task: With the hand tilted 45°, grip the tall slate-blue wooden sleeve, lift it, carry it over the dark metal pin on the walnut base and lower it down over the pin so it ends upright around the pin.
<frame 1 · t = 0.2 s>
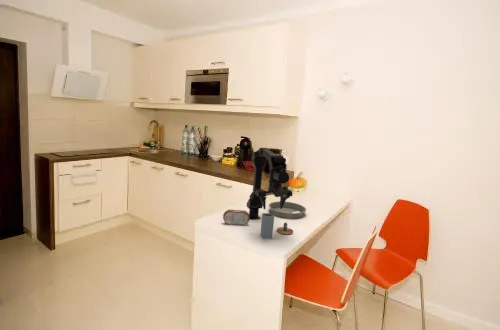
hand: (272, 209, 149), 15 cm above the countertop, tool pointing down, fingers open, 9 cm apart
cake pan: (286, 213, 191), on the countertop
sleeve: (266, 236, 150), on the countertop
pin base: (284, 231, 159), on the countertop
tin: (235, 224, 164), on the countertop
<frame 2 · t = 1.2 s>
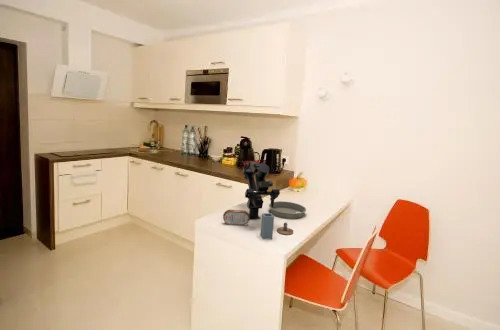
hand: (264, 207, 155), 13 cm above the countertop, tool tilted 45°, fingers open, 9 cm apart
nothing on the countertop moved.
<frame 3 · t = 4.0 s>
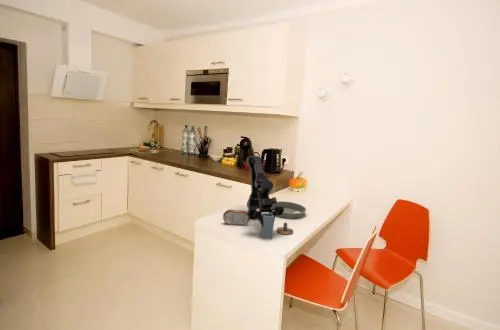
hand: (267, 225, 147), 7 cm above the countertop, tool tilted 45°, fingers closed on sleeve, 5 cm apart
sleeve: (266, 236, 150), on the countertop, touching gripper
everything else where it was.
when the fingers open (9 cm above the countertop, at t = 8.9 s): sleeve drops 1 cm, resting on pin base.
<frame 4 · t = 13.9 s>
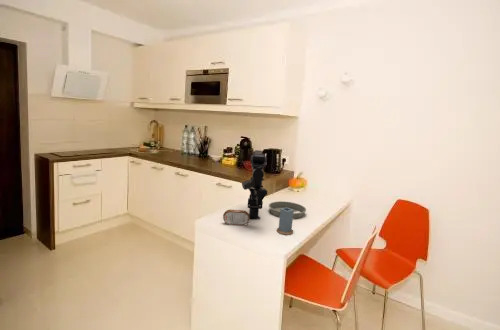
hand: (255, 203, 163), 13 cm above the countertop, tool pointing down, fingers open, 9 cm apart
sleeve: (284, 230, 159), point 1 cm above the countertop, touching pin base
everything else where it was.
at the end: sleeve 0.0 cm from the pin base (horizontally); sleeve point 0.8 cm above the countertop; sleeve tilted 0° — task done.
